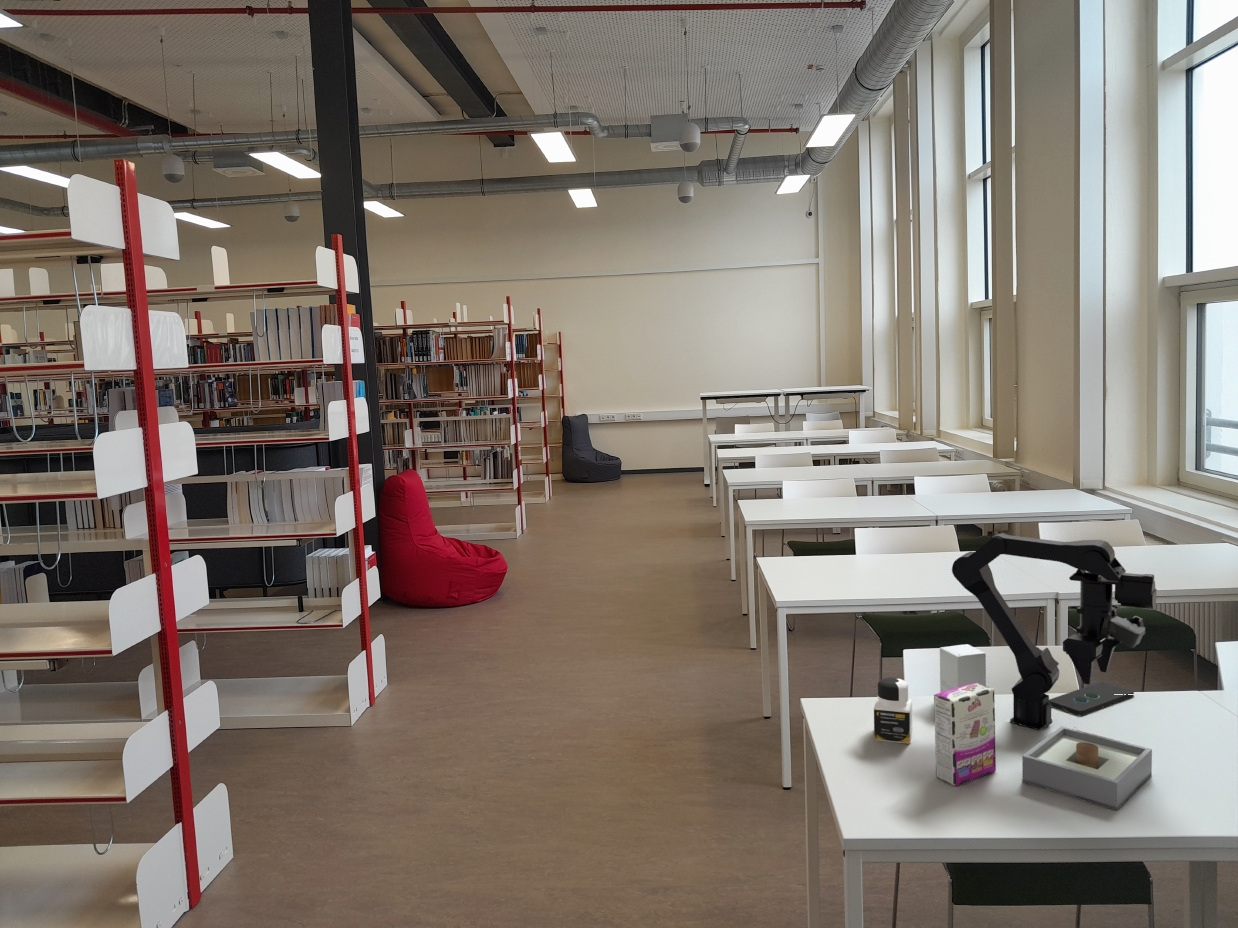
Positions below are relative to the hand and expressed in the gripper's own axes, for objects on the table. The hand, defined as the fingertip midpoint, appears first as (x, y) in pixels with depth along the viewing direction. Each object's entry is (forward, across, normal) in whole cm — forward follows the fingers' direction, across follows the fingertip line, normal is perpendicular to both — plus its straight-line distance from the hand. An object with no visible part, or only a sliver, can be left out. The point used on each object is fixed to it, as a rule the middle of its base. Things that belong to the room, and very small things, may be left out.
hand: (1095, 677), depth 181 cm
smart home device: (+13, +18, +7) cm, 24 cm away
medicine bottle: (+12, -27, +30) cm, 42 cm away
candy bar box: (+12, -34, +11) cm, 38 cm away
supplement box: (+12, -1, +28) cm, 30 cm away
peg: (+11, -21, -6) cm, 25 cm away
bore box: (+12, -21, -6) cm, 25 cm away
